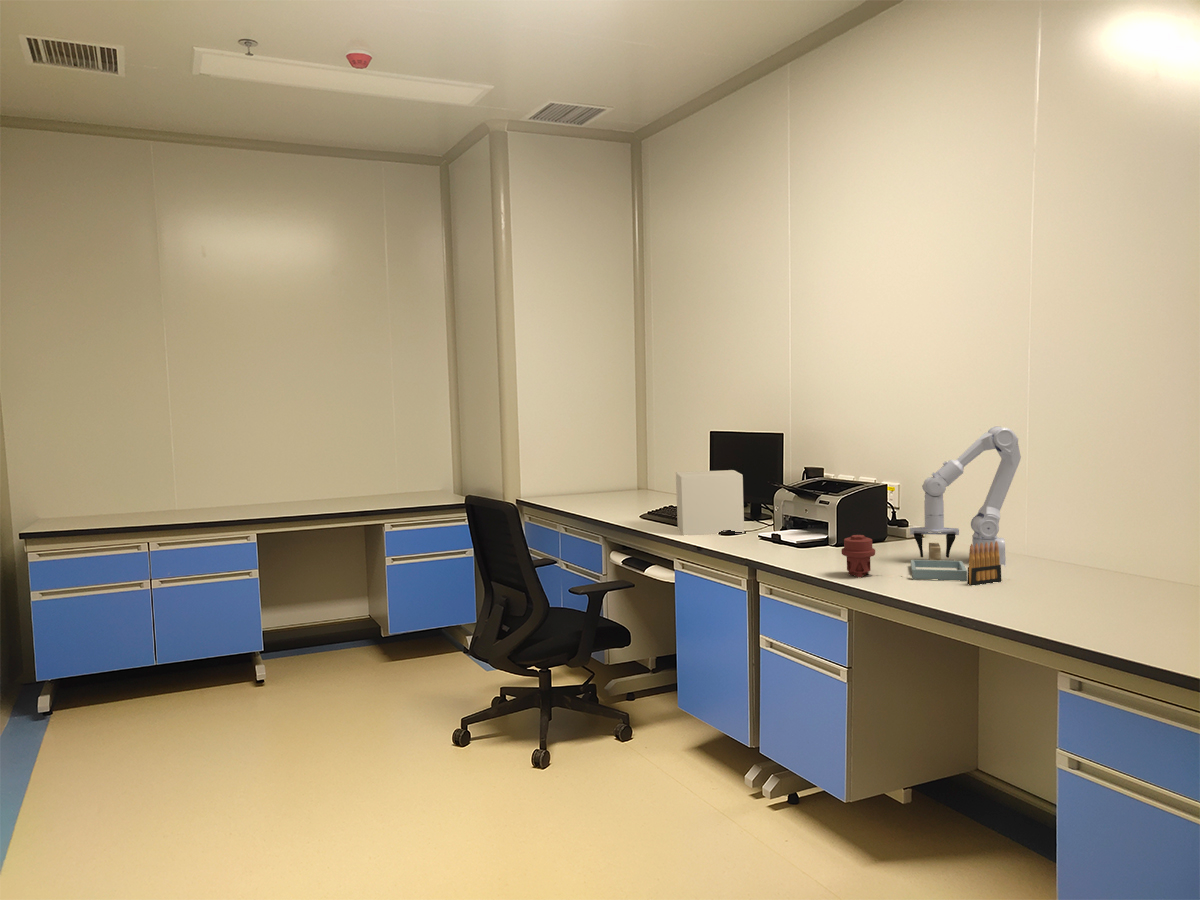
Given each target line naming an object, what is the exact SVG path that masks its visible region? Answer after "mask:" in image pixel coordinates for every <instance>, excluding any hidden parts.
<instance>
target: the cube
mask: <svg viewBox="0 0 1200 900" xmlns="http://www.w3.org/2000/svg"><path fill="white" fill-rule="evenodd" d="M675 483H676V484H675V487H676V490H675V491H676V515H677V516H676V517H677V519H676V520H677V529H678V528H679V529H678V530H679V531H680V533H681V535H682V536H684V535H688V536H704V535H705V536H706V535H710V536H712V535H718V534H717V533H719V532H721V531H723V530H731V531H735V532H742V533H741V534H745V516H744V515H745V513H744V512H745V511H744V477H743V474H742V473H740V472H738V471H737V470H734V469H728V470H726V469H725V470H704V471H703V470H700V471H677V472H675ZM711 534H712V535H711ZM684 537H685V536H684Z"/></svg>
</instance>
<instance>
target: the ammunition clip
mask: <svg viewBox="0 0 1200 900" xmlns="http://www.w3.org/2000/svg"><path fill="white" fill-rule="evenodd" d="M968 555H969V557H968V567H967V581H966V583H967V585H968V584H969V585H968V586H971V585H975V586H981V585H980V584H982V585H987V584H986V583H990V584H994V583H993V582H998V583H1002V582H1001V581H1002V564H1000V555H999V547H998V542H997V541H996V542H995V546H994V547H993V543H992V542H991V543H990V547H988V543H987V542H986V543H985V547H983V544H982V543H981V544H980V549H979V547H978V544H977V543H976V545H975V550H974V548H973V543H971V544H970V545H969V553H968Z"/></svg>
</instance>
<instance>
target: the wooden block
mask: <svg viewBox="0 0 1200 900" xmlns="http://www.w3.org/2000/svg"><path fill="white" fill-rule="evenodd" d="M941 549H942V548H941V545H940V543H939V542H928V559H929V560H941V558H942V557H941V556H942V555H941V552H942V551H941Z"/></svg>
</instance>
